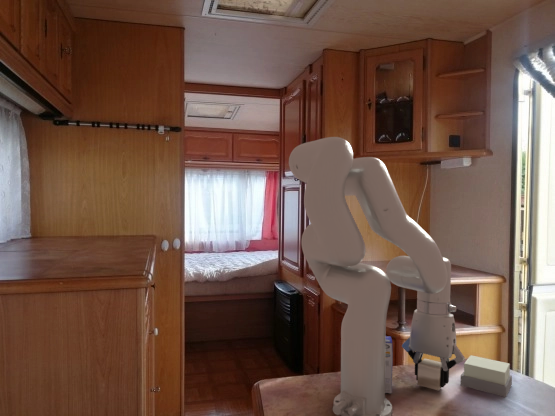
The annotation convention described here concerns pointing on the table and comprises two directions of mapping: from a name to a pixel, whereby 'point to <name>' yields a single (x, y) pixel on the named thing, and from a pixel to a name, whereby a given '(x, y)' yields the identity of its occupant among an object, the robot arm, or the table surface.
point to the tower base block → (487, 385)
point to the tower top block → (487, 369)
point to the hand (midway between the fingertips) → (431, 381)
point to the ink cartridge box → (388, 365)
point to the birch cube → (429, 374)
